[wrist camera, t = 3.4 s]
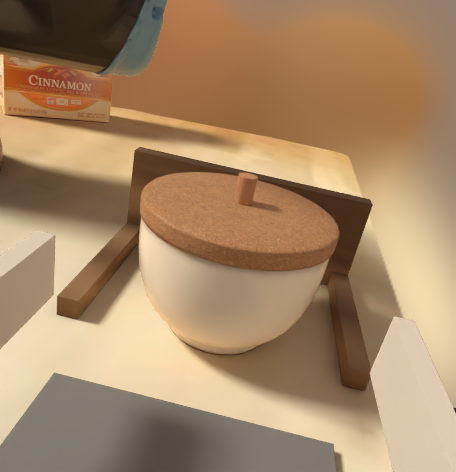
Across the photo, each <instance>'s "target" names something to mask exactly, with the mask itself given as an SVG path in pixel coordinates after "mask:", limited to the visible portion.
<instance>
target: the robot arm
mask: <svg viewBox="0 0 456 472" xmlns="http://www.w3.org/2000/svg"><path fill="white" fill-rule="evenodd" d="M166 3H167V0H0V54H1V55H6V56H11V57H16V58H21V59H26V60H32V61H37V62H42V63H47V64H52V65H57V66H62V67H67V68H72V69H77V70H83V71H88V72H93V73H96V74H98V75H106V74H115V75H122V76H135V75H138V74H140V73H142V72H143V71H144V70H145V69H146V68H147V66H148V65H149V63H150V61H151V59H152V56H153V54H154V51H155V48H156V45H157V41H158V38H159V34H160V30H161V26H162V21H163V13H164V10H165V6H166ZM2 166H3V158H2V143H1V139H0V170H1V169H2ZM54 262H55V234H50V233H46V232H42V231H38V230H36V231H34V232H33V233H32V234H30V235H29V236H27V237H26V238H24V239H23V240H22V241H20V242H19V243H17V244H16V245H14V246H13V247H12V248H10V249H9V250H7V251H6V252H4V253H3V254H2V255H0V349H1V348H2V347H3V346H4V345H5V344H6V343H7V342H8V341H9V340H10V339H11V338H12V337H13V336H14V335H15V334H16V333H17V332H18V330H19V329H20V328H21V327H22V326H23V325H24V324H25V323H26V322H27V321H28V320H29V319H30V318H31V317H32V316H33V315H34V314H35V313H36V312H37V311H38V310H39V309H40V308H41V307H42V306H43V305H44V304H45V303H46V302H47V301H48V300H49V299H50V298H51V297H52V296H53V295H54ZM370 376H371V381H372V385H373V389H374V393H375V398H376V402H377V406H378V410H379V415H380V419H381V423H382V427H383V431H384V436H385V440H386V444H387V448H388V453H389V457H390V461H391V465H392V469H393V472H456V408H453V406H452V404H451V402H450V400H449V397H448V395H447V393H446V391H445V389H444V386H443V384H442V382H441V379H440V377H439V375H438V373H437V370H436V368H435V366H434V364H433V362H432V359H431V357H430V355H429V353H428V350H427V348H426V346H425V344H424V341H423V339H422V337H421V335H420V333H419V330H418V328H417V326H416V323H415V321H412V320H407V319H403V318H399V317H395V316H394V317H393V320H392V322H391V324H390V327H389V329H388V331H387V334H386V336H385V338H384V341H383V343H382V345H381V348H380V350H379V352H378V355H377V357H376V359H375V362H374V364H373V366H372V369H371V371H370Z"/></svg>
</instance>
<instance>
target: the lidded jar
mask: <svg viewBox="0 0 456 472" xmlns="http://www.w3.org/2000/svg"><path fill="white" fill-rule="evenodd" d="M140 214H141V221H140V232H139V265H140V272H141V278H142V282H143V285H144V288H145V291H146V294H147V296H148V298H149V300H150V302H151V304H152V305H153V307H154V309H155V311H156V312H157V313H158V314H159V315H160V317H161V318H162V319H163V320H164V321H165V322H166V323H167V324H168V325H169V327H170V328H171V330H172V331H173V333H174V334H175V335H176V336H177V337H178V338H179V339H181V340H182V341H183V342H185V343H187V344H188V345H190V346H192V347H194V348H197V349H199V350H202V351H205V352H209V353H215V354H225V355H231V354H239V353H244V352H247V351H250V350H252V349H254V348H255V347H257V346H258V345H260V344H263V343H266V342H268V341H271V340H273V339H274V338H276V337H278V336H280V335H281V334H283V333H284V332H285V331H287V330H288V329H289V328H290V327H291V326H293V325H294V324H295V323H296V321H297V320H298V319H299V318H300V317H301V316H302V315H303V313H304V312H305V310H306V309H307V307H308V305H309V304H310V302H311V301H312V299H313V298H314V296H315V294H316V292H317V290H318V288H319V286H320V284H321V281H322V278H323V276H324V273H325V271H326V268H327V264H328V261H329V258H330V257H331V255H332V254H333V253H334V250H335V248H336V245H337V242H338V238H339V229H338V226H337V224H336V222H335V220H334V219H333V218H332V217H331V216H330V214H329V213H328V212H326V211H325V210H324V209H322V208H321V207H320V206H318V205H317V204H315V203H314V202H312V201H310V200H308V199H306V198H304V197H302V196H300V195H298V194H296V193H294V192H292V191H289V190H287V189H284V188H281V187H278V186H275V185H272V184H270V183H266V182H262V181H258V177H257V176H255V175H253V174H250V173H239V176H235V175H228V174H221V173H208V172H186V173H175V174H170V175H165V176H162V177H158V178H156V179H154V180H152V181H151V182H150V183H148V184H147V185H146V186H145V187H144V189H143V191H142V193H141V201H140Z"/></svg>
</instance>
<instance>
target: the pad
mask: <svg viewBox="0 0 456 472" xmlns="http://www.w3.org/2000/svg"><path fill="white" fill-rule="evenodd" d="M0 472H336V463H335V453H334V444H331V443H327V442H323V441H319V440H316V439H312V438H308V437H304V436H300V435H296V434H292V433H288V432H284V431H280V430H276V429H273V428H269V427H265V426H261V425H257V424H253V423H249V422H245V421H241V420H237V419H233V418H230V417H226V416H222V415H218V414H214V413H210V412H206V411H202V410H198V409H194V408H190V407H186V406H183V405H179V404H175V403H171V402H167V401H163V400H159V399H155V398H151V397H147V396H143V395H140V394H136V393H132V392H128V391H124V390H120V389H116V388H112V387H108V386H104V385H100V384H97V383H93V382H89V381H85V380H81V379H77V378H73V377H69V376H65V375H61V374H57V373H54V374H53V375H52V376H51V378H50V379H49V381H48V382H47V383H46V385H45V386H44V387H43V389H42V390H41V391H40V393H39V394H38V395H37V397H36V398H35V400H34V401H33V402H32V404H31V405H30V406H29V408H28V409H27V410H26V412H25V413H24V414H23V416H22V417H21V419H20V420H19V421H18V423H17V424H16V425H15V427H14V428H13V429H12V431H11V432H10V433H9V435H8V436H7V437H6V439H5V440H4V442H3V443H2V444H1V446H0Z"/></svg>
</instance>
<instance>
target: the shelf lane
mask: <svg viewBox="0 0 456 472" xmlns="http://www.w3.org/2000/svg"><path fill="white" fill-rule="evenodd" d="M186 172H208V173H221V174H228V175H235V176H239V173H250V174H253V175H255V176H257V177H258V181H262V182H266V183H270V184H272V185H275V186H278V187H281V188H284V189H287V190H289V191H292V192H294V193H296V194H298V195H300V196H302V197H304V198H306V199H308V200H310V201H312V202H314V203H315V204H317V205H318V206H320V207H321V208H322V209H324V210H325V211H326V212H328V213H329V214H330V216H331V217H332V218H333V219H334V220H335V222H336V224H337V226H338V229H339V238H338V242H337V245H336V248H335V250H334V253H333V254H332V255H331V257H330V258H329V261H328V264H327V268H326V271H325V273H324V276H323V278H322V281H321V283H322V284H326V285H328V291H329V298H330V305H331V311H332V318H333V325H334V332H335V338H336V345H337V352H338V358H339V365H340V372H341V379H342V385H344V386H348V387H352V388H356V389H360V390H365V388H366V386H367V383H368V381H369V379H370V371H371V369H370V365H369V361H368V357H367V353H366V349H365V344H364V340H363V336H362V332H361V328H360V324H359V320H358V316H357V312H356V308H355V303H354V299H353V295H352V291H351V287H350V283H349V279H348V273H349V270H350V267H351V264H352V261H353V259H354V256H355V253H356V250H357V247H358V245H359V242H360V239H361V236H362V233H363V231H364V228H365V225H366V222H367V219H368V216H369V214H370V211H371V207H372V203H371V201H370V200H369V199H366V198H361V197H357V196H352V195H348V194H344V193H339V192H335V191H331V190H326V189H322V188H317V187H313V186H309V185H304V184H300V183H295V182H291V181H287V180H282V179H278V178H274V177H269V176H265V175H260V174H256V173H252V172H247V171H243V170H238V169H234V168H230V167H225V166H221V165H217V164H212V163H208V162H203V161H199V160H195V159H190V158H186V157H182V156H177V155H173V154H168V153H164V152H160V151H155V150H151V149H146V148H142V147H139V148H138V149H136V150H135V153H134V163H133V172H132V182H131V191H130V201H129V210H128V220H127V224H126V225H125V226H124V227H123V228H122V229H121V230H120V231H119V232H118V233H117V234H116V235H115V236H114V237H113V238H112V239H111V240H110V241H109V243H108V244H107V245H106V246H105V247H104V248H103V249H102V250H101V251H100V252H99V253H98V254H97V255H96V256H95V257H94V258H93V259H92V260H91V261H90V262H89V263H88V265H87V266H86V267H85V268H84V269H83V270H82V271H81V272H80V273H79V274H78V275H77V276H76V277H75V278H74V279H73V280H72V281H71V282H70V283H69V284H68V285H67V287H66V288H65V289H64V290H63V291H62V292H61V293H60V294H59V295H58V296H57V314H59V315H63V316H67V317H71V318H75V319H78V318H79V316H80V315H81V314H82V313H83V311H84V310H85V309H86V308H87V306H88V305H89V304H90V303H91V301H92V300H93V299H94V298H95V296H96V295H97V294H98V293H99V291H100V290H101V289H102V288H103V286H104V285H105V284H106V283H107V281H108V280H109V279H110V278H111V276H112V275H113V274H114V273H115V271H116V270H117V269H118V268H119V266H120V265H121V264H122V263H123V261H124V260H125V259H126V258H127V256H128V255H129V254H130V253H131V251H132V250H133V249H134V248H135V246H136V245H137V244H138V243H139V232H140V221H141V214H140V201H141V193H142V191H143V189H144V187H145V186H146V185H147V184H148V183H150V182H151V181H152V180H154V179H156V178H158V177H162V176H165V175H170V174H175V173H186Z"/></svg>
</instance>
